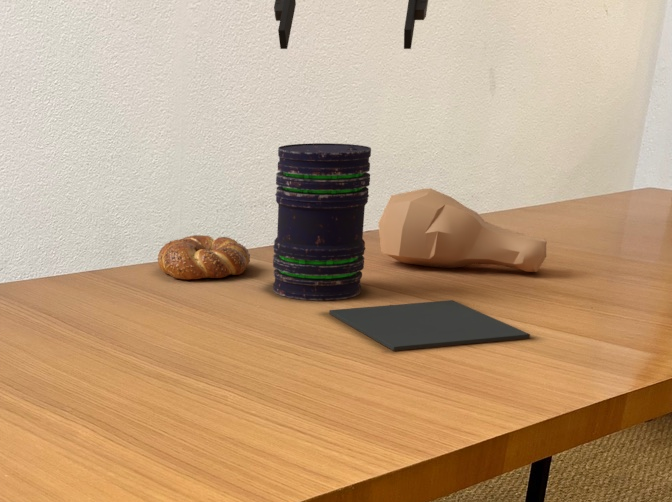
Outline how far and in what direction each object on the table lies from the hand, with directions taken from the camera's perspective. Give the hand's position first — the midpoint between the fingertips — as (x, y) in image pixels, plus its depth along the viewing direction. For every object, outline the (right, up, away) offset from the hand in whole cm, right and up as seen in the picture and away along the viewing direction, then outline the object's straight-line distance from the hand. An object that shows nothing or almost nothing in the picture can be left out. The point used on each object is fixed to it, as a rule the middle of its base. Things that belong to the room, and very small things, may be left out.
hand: (344, 39), depth 115 cm
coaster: (+6, -34, -13) cm, 36 cm away
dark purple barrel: (-3, -27, +1) cm, 28 cm away
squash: (+16, -22, +12) cm, 30 cm away
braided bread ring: (-15, -23, +11) cm, 30 cm away
